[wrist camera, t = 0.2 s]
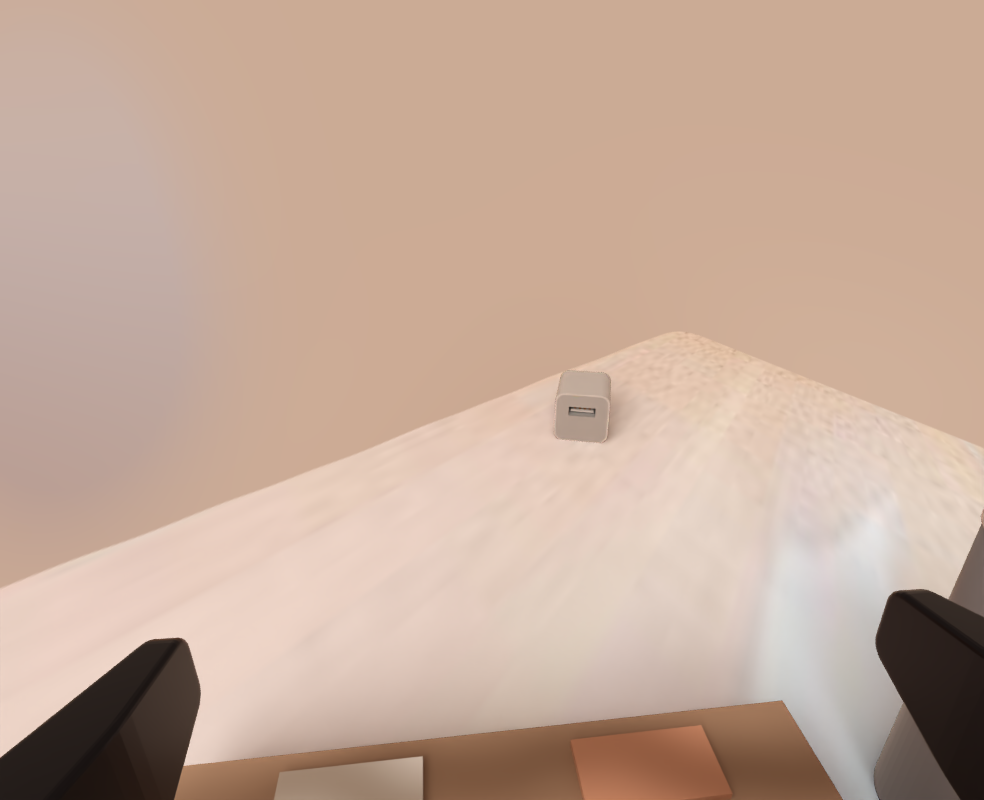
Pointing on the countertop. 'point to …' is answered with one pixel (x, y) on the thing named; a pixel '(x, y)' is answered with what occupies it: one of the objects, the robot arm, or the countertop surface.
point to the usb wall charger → (582, 406)
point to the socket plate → (549, 764)
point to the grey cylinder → (906, 757)
